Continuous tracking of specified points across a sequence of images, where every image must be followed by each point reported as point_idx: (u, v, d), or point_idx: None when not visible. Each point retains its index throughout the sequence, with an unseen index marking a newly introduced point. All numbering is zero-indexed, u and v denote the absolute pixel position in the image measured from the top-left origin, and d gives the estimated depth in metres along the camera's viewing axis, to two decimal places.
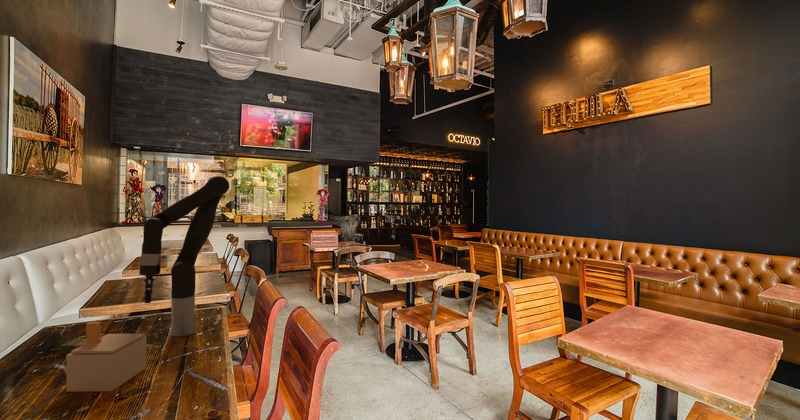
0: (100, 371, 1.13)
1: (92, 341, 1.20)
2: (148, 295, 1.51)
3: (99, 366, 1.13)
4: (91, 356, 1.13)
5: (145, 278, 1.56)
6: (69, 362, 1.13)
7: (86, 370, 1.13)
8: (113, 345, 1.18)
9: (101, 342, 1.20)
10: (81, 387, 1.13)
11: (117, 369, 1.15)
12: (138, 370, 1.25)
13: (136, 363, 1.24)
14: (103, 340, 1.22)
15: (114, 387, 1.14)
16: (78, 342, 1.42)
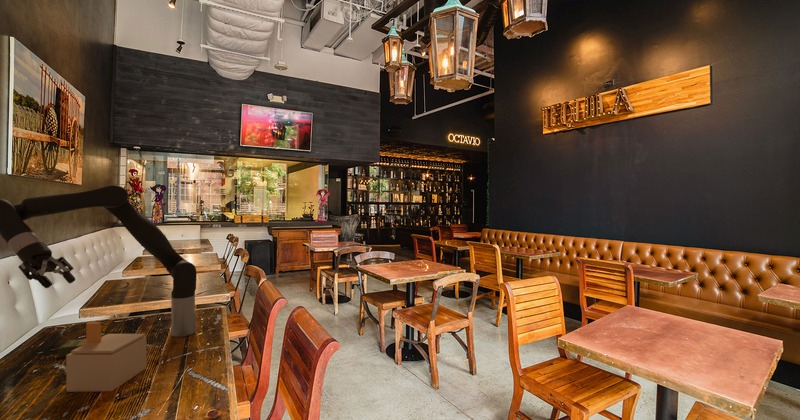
0: (100, 371, 1.13)
1: (92, 341, 1.20)
2: (39, 279, 1.16)
3: (99, 366, 1.13)
4: (91, 356, 1.13)
5: None
6: (69, 362, 1.13)
7: (86, 370, 1.13)
8: (113, 345, 1.18)
9: (101, 342, 1.20)
10: (81, 387, 1.13)
11: (117, 369, 1.15)
12: (138, 370, 1.25)
13: (136, 363, 1.24)
14: (103, 340, 1.22)
15: (114, 387, 1.14)
16: (79, 343, 1.42)
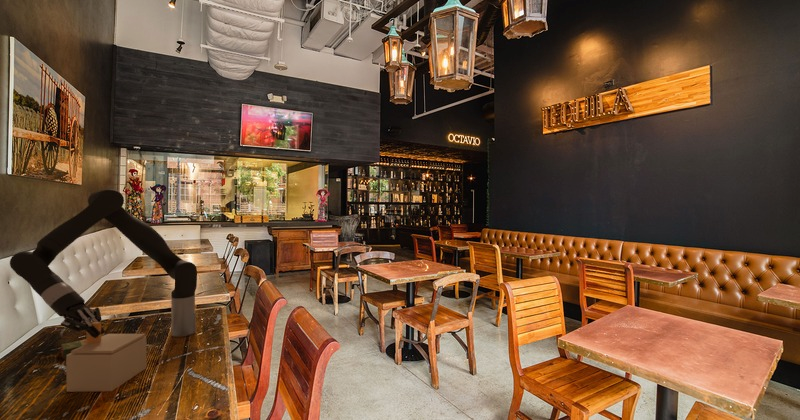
0: (100, 371, 1.13)
1: (92, 341, 1.20)
2: (88, 329, 1.19)
3: (99, 366, 1.13)
4: (91, 356, 1.13)
5: None
6: (69, 362, 1.13)
7: (86, 370, 1.13)
8: (113, 345, 1.18)
9: (101, 342, 1.20)
10: (81, 387, 1.13)
11: (117, 369, 1.15)
12: (138, 370, 1.25)
13: (136, 363, 1.24)
14: (103, 340, 1.22)
15: (114, 387, 1.14)
16: (81, 343, 1.42)
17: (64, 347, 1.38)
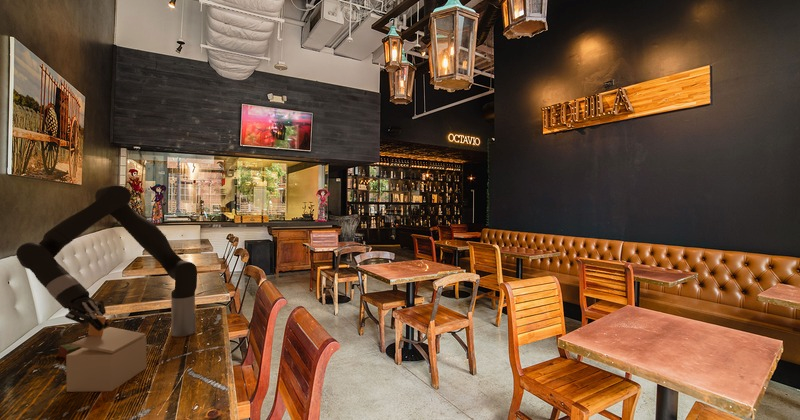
0: (100, 371, 1.13)
1: (93, 334, 1.20)
2: (92, 322, 1.19)
3: (99, 366, 1.13)
4: (91, 356, 1.13)
5: None
6: (69, 362, 1.13)
7: (86, 370, 1.13)
8: (114, 343, 1.18)
9: (102, 337, 1.20)
10: (81, 387, 1.13)
11: (117, 369, 1.15)
12: (138, 370, 1.25)
13: (136, 363, 1.24)
14: (104, 334, 1.22)
15: (114, 387, 1.14)
16: None
17: (66, 348, 1.37)
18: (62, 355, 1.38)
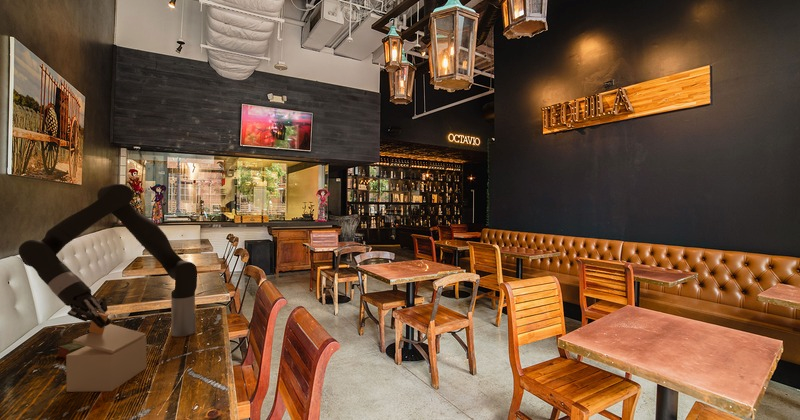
0: (100, 371, 1.13)
1: (94, 331, 1.20)
2: (94, 319, 1.19)
3: (99, 366, 1.13)
4: (91, 356, 1.13)
5: None
6: (69, 362, 1.13)
7: (86, 370, 1.13)
8: (114, 342, 1.18)
9: (103, 335, 1.20)
10: (81, 387, 1.13)
11: (117, 369, 1.15)
12: (138, 370, 1.25)
13: (136, 363, 1.24)
14: (105, 332, 1.22)
15: (114, 387, 1.14)
16: None
17: (68, 348, 1.37)
18: (63, 355, 1.37)
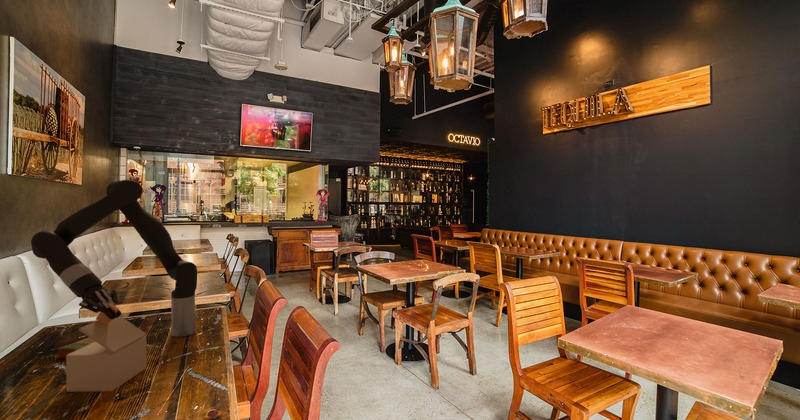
0: (100, 371, 1.13)
1: (101, 321, 1.20)
2: (105, 311, 1.19)
3: (99, 366, 1.13)
4: (91, 356, 1.13)
5: None
6: (69, 362, 1.13)
7: (86, 370, 1.13)
8: (116, 340, 1.18)
9: (107, 327, 1.20)
10: (81, 387, 1.13)
11: (117, 369, 1.15)
12: (138, 370, 1.25)
13: (136, 363, 1.24)
14: (110, 324, 1.22)
15: (114, 387, 1.14)
16: (86, 343, 1.42)
17: (72, 348, 1.37)
18: None
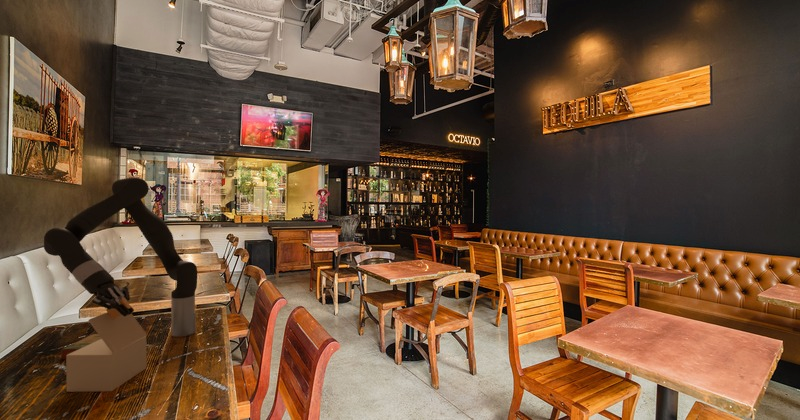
0: (100, 371, 1.13)
1: (110, 314, 1.20)
2: (118, 308, 1.19)
3: (99, 366, 1.13)
4: (91, 356, 1.13)
5: None
6: (69, 362, 1.13)
7: (86, 370, 1.13)
8: (119, 338, 1.18)
9: (114, 321, 1.20)
10: (81, 387, 1.13)
11: (117, 369, 1.15)
12: (138, 370, 1.25)
13: (136, 363, 1.24)
14: (117, 318, 1.22)
15: (114, 387, 1.14)
16: (89, 342, 1.42)
17: (78, 348, 1.37)
18: None
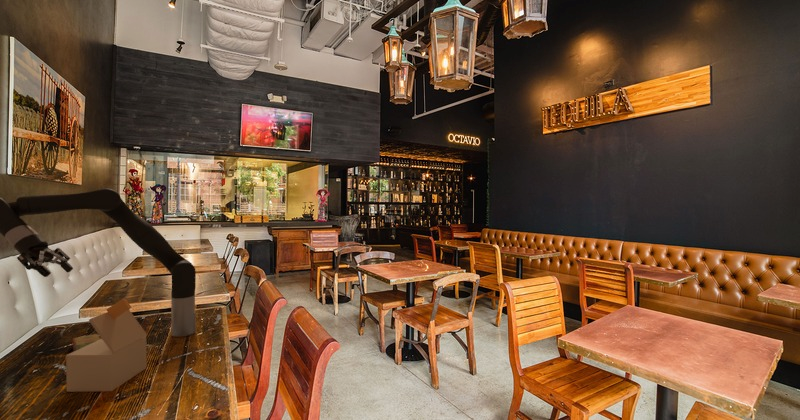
0: (100, 371, 1.13)
1: (110, 313, 1.20)
2: (38, 268, 1.22)
3: (99, 366, 1.13)
4: (91, 356, 1.13)
5: None
6: (69, 362, 1.13)
7: (86, 370, 1.13)
8: (119, 338, 1.18)
9: (114, 321, 1.20)
10: (81, 387, 1.13)
11: (117, 369, 1.15)
12: (138, 370, 1.25)
13: (136, 363, 1.24)
14: (117, 318, 1.22)
15: (114, 387, 1.14)
16: (94, 341, 1.44)
17: None
18: None
